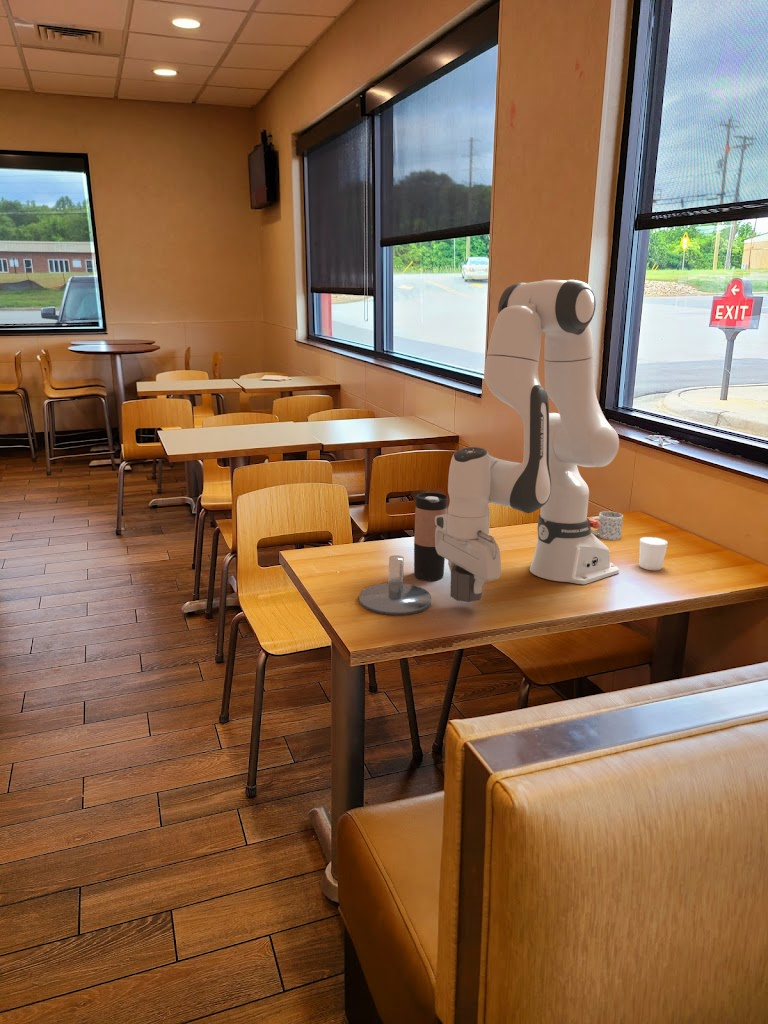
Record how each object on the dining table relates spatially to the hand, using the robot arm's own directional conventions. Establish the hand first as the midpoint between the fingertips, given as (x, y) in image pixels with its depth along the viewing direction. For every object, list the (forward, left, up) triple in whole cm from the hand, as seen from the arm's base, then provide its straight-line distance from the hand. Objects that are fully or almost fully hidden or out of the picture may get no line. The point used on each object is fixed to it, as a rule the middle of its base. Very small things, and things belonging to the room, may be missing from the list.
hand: (466, 586), depth 163 cm
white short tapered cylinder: (-59, -4, -6) cm, 60 cm away
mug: (-66, -29, -6) cm, 73 cm away
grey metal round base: (+12, -10, -5) cm, 16 cm away
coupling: (0, 0, -2) cm, 2 cm away
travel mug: (-3, -21, -6) cm, 22 cm away
